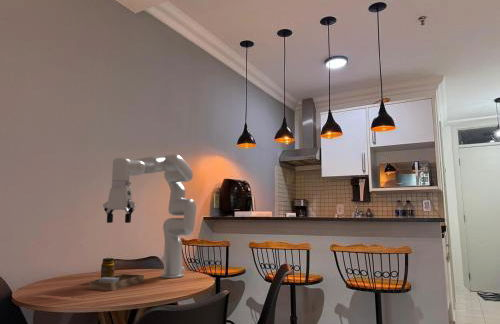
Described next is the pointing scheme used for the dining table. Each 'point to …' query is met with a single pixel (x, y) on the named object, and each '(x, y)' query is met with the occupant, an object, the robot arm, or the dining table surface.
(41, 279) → the dining table surface
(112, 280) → the painted block
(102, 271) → the condiment
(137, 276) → the caddy
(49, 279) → the dining table surface
